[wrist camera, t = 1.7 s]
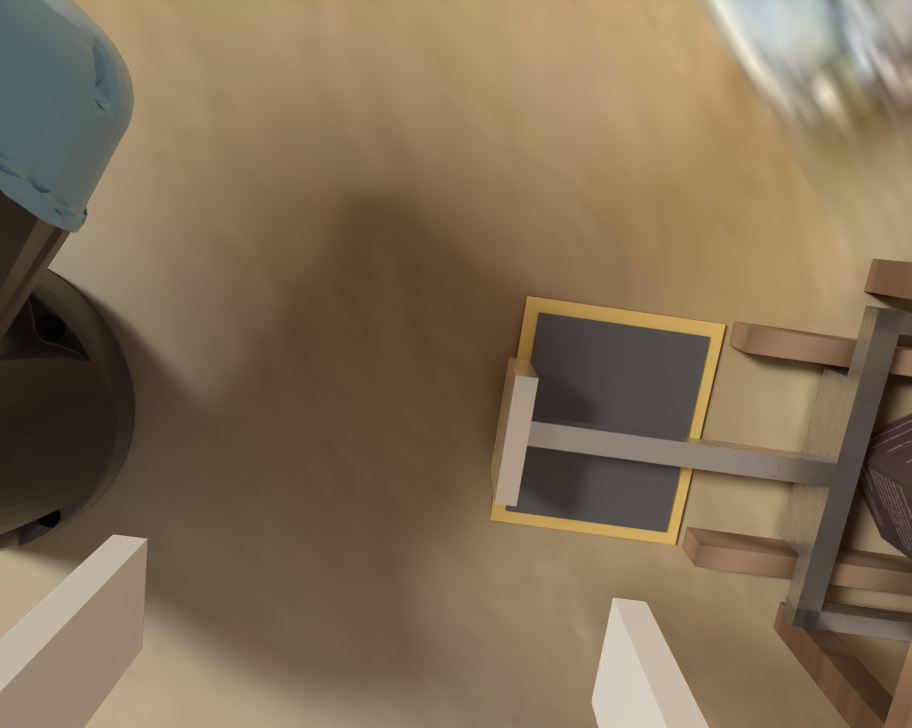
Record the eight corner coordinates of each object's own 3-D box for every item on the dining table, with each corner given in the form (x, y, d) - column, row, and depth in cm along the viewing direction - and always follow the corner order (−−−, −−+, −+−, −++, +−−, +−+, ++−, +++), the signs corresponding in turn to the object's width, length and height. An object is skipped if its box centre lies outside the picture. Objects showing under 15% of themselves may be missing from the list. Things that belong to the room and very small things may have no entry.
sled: (475, 554, 36) (478, 602, 31) (524, 254, 33) (535, 259, 28) (1005, 625, 37) (1081, 681, 32) (1105, 339, 33) (1205, 357, 29)
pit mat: (489, 518, 36) (490, 521, 36) (526, 295, 33) (527, 296, 33) (673, 543, 36) (676, 546, 36) (724, 324, 34) (727, 325, 33)
